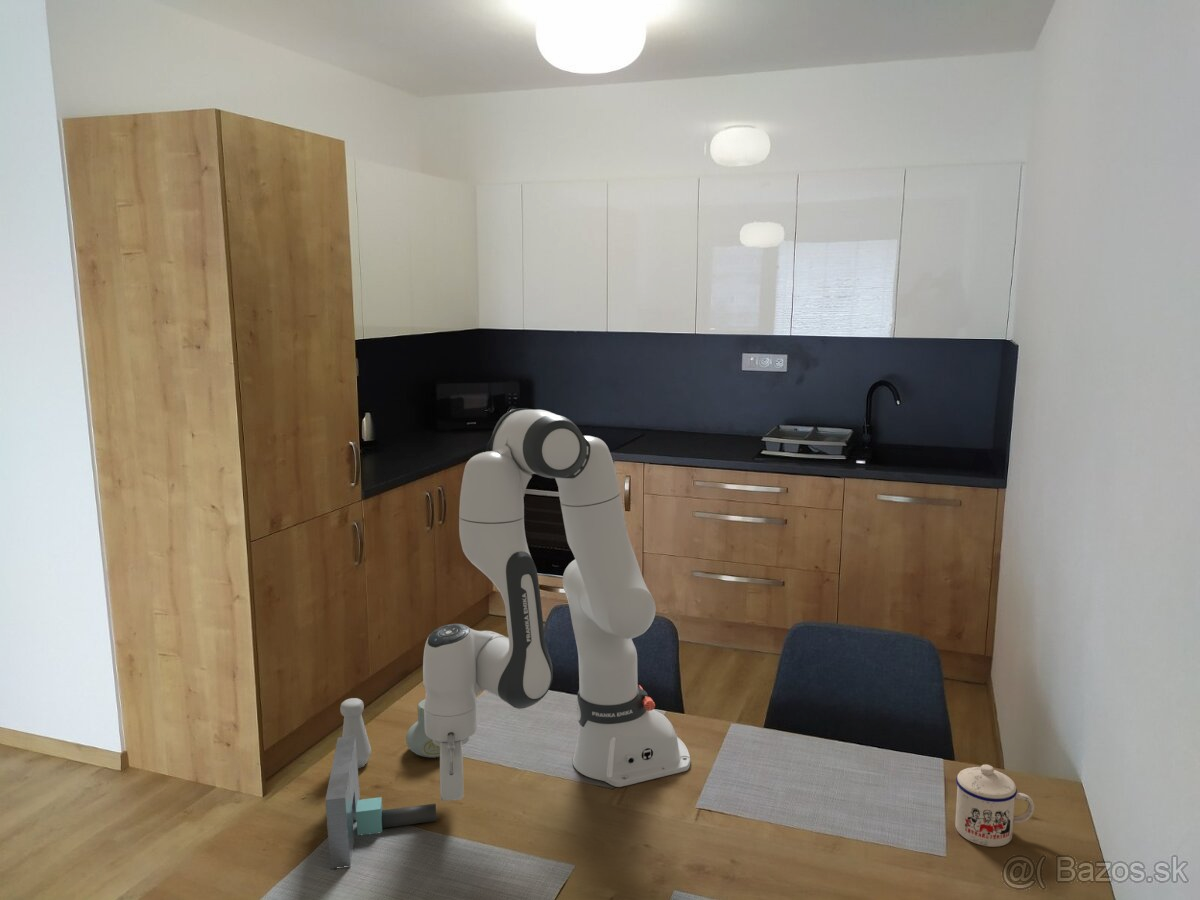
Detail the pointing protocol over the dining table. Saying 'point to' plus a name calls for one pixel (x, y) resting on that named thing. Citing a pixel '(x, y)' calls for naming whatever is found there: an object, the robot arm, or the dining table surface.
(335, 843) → the block
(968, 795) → the teacup with lid
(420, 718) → the air freshener
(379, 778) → the dining table surface
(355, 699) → the salt shaker
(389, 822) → the plug
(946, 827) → the dining table surface
